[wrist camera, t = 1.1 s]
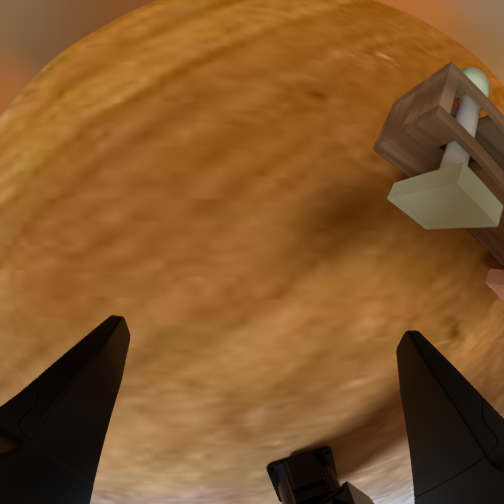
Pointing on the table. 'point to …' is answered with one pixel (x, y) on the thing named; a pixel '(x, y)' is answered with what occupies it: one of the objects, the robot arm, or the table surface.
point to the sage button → (451, 180)
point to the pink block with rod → (496, 281)
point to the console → (447, 139)
